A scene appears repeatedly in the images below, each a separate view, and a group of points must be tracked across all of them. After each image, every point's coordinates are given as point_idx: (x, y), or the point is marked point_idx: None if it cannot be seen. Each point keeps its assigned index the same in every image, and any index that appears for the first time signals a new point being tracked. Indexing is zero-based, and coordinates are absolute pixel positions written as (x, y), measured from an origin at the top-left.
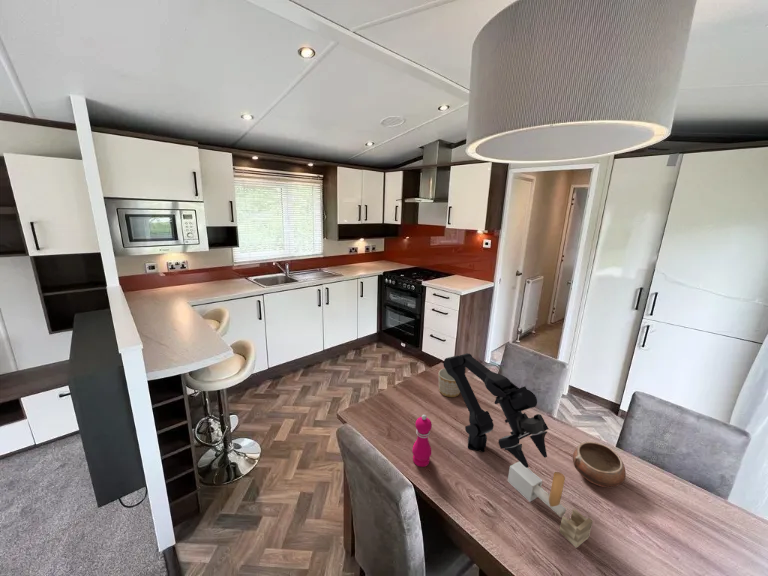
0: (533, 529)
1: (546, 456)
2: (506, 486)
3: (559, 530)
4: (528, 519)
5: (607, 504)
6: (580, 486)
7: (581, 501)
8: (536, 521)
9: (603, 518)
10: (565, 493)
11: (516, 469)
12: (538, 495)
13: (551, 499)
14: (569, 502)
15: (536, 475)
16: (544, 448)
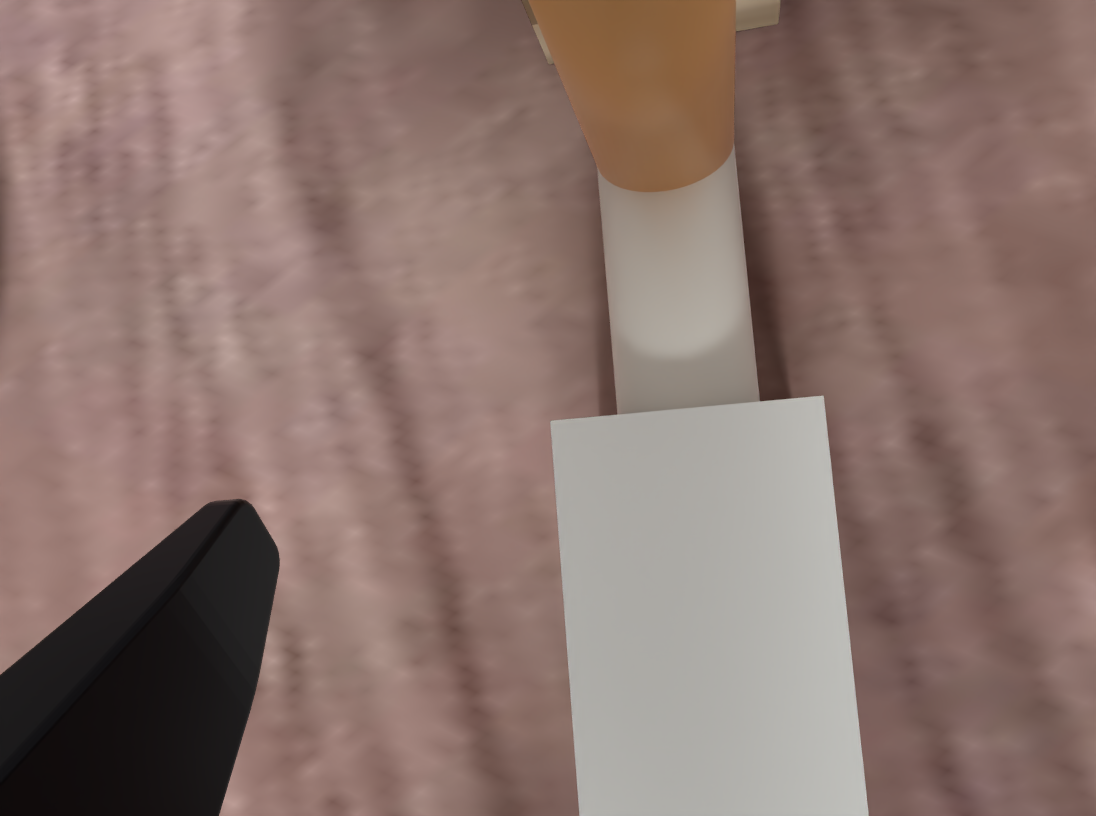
0: (1057, 133)
1: (225, 506)
2: (918, 732)
3: (778, 12)
4: (1012, 250)
5: (30, 102)
6: (63, 349)
7: (223, 212)
8: (931, 198)
9: (207, 5)
10: (287, 346)
11: (813, 800)
12: (751, 327)
13: (734, 89)
14: (349, 247)
15: (562, 536)
16: (55, 674)
